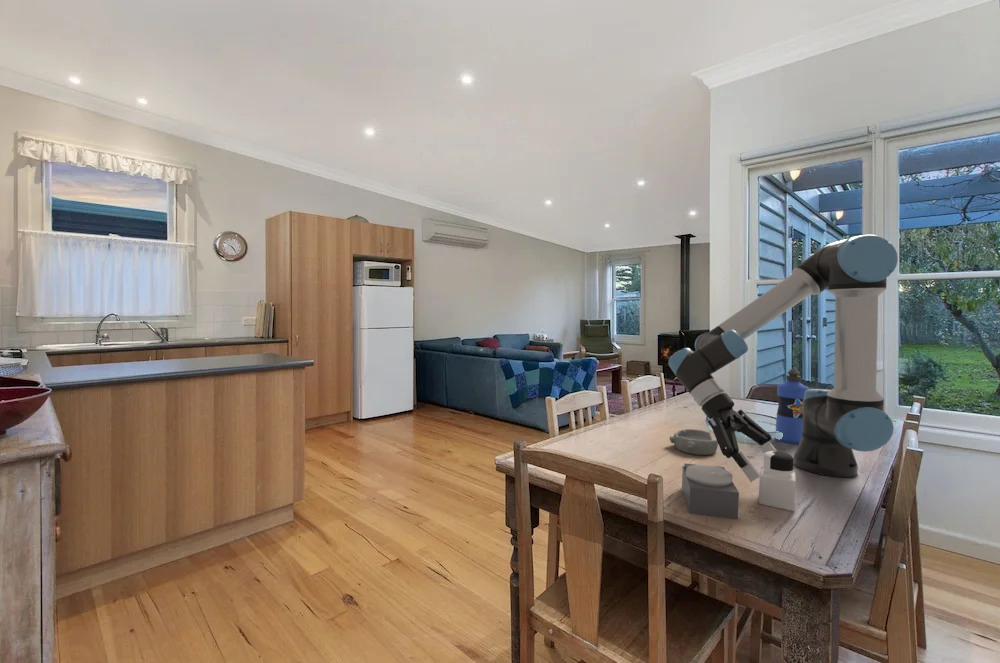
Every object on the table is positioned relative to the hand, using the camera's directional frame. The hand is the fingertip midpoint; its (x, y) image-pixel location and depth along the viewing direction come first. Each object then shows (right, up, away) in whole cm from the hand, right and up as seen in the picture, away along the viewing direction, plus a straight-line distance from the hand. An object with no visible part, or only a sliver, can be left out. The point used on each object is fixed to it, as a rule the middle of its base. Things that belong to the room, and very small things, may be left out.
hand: (770, 472), depth 109 cm
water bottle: (+37, -4, +50) cm, 62 cm away
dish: (-1, -5, +40) cm, 40 cm away
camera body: (-15, -7, -1) cm, 17 cm away
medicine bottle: (+1, -7, 0) cm, 7 cm away
